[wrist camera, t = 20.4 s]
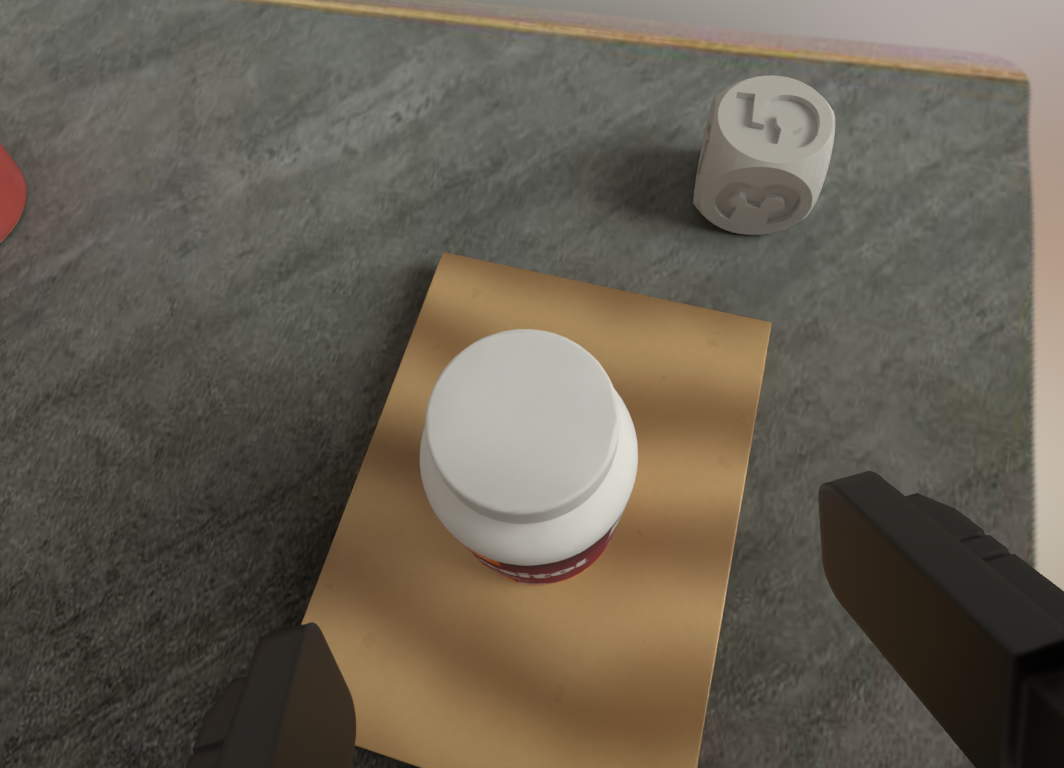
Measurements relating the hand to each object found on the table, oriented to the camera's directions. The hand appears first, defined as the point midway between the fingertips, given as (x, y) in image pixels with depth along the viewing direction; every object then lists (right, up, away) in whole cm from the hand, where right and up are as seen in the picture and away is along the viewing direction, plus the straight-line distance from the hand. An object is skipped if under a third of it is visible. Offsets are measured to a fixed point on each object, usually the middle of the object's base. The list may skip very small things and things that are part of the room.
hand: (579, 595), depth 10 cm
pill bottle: (0, -2, +16) cm, 16 cm away
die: (+10, +13, +22) cm, 27 cm away
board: (0, -2, +17) cm, 17 cm away
